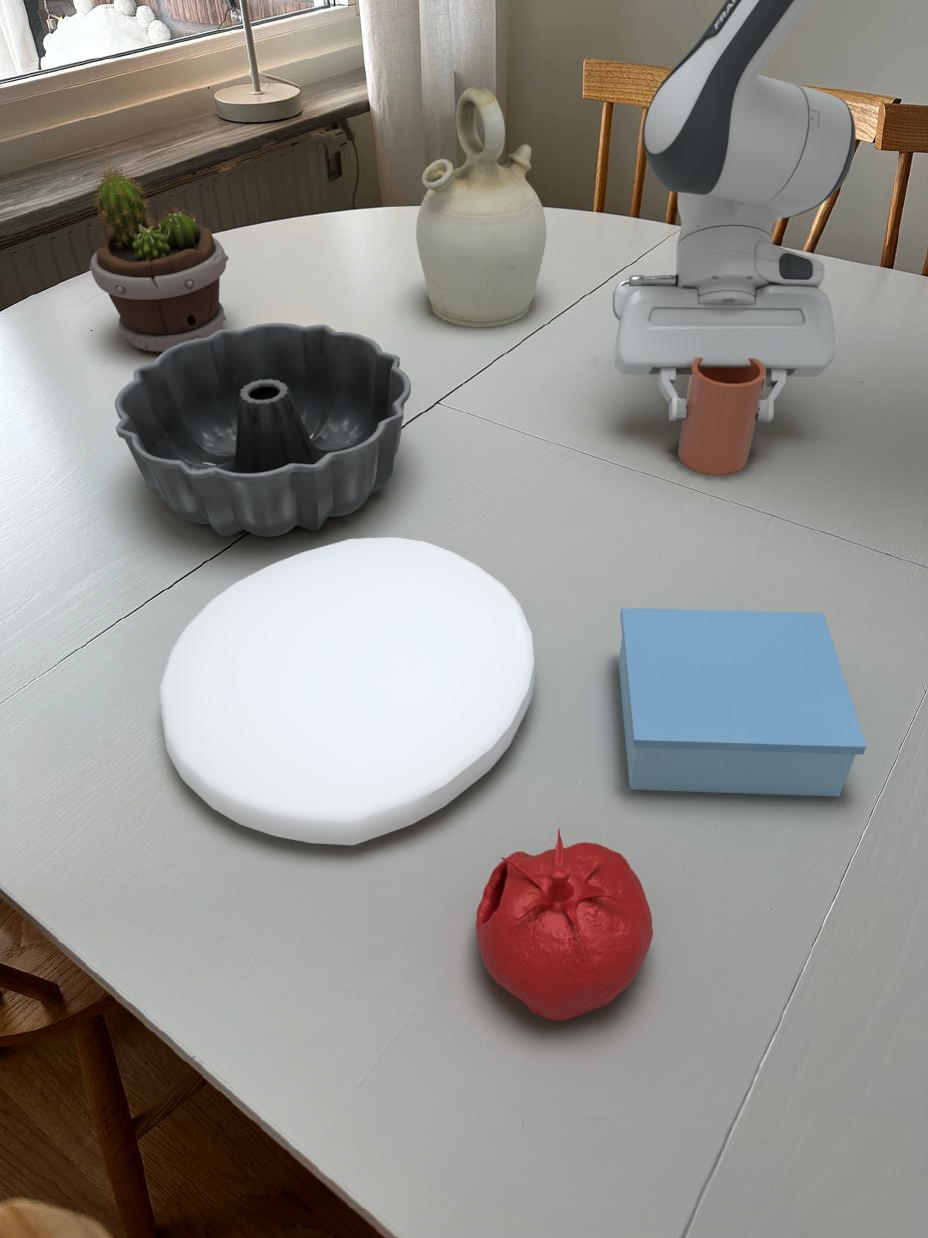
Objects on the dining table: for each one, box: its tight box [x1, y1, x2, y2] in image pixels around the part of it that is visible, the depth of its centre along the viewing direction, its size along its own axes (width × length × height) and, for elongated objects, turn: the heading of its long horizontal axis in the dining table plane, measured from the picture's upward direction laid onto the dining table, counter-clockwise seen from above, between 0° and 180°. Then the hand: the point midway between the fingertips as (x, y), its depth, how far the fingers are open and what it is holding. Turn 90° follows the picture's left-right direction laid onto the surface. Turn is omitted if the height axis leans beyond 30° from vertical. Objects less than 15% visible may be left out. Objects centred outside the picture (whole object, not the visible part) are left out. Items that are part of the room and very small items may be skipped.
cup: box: [677, 358, 766, 477], centre depth 93 cm, size 7×7×10 cm
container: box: [618, 607, 867, 797], centre depth 69 cm, size 15×13×6 cm
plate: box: [158, 536, 537, 846], centre depth 71 cm, size 28×6×27 cm
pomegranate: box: [475, 828, 654, 1021], centre depth 55 cm, size 10×10×9 cm
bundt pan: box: [114, 322, 412, 538], centre depth 91 cm, size 26×26×10 cm
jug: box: [415, 85, 547, 328], centre depth 113 cm, size 15×16×25 cm
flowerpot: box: [88, 160, 229, 356], centre depth 110 cm, size 14×15×20 cm
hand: (721, 420), depth 92 cm, fingers closed on cup, 6 cm apart
